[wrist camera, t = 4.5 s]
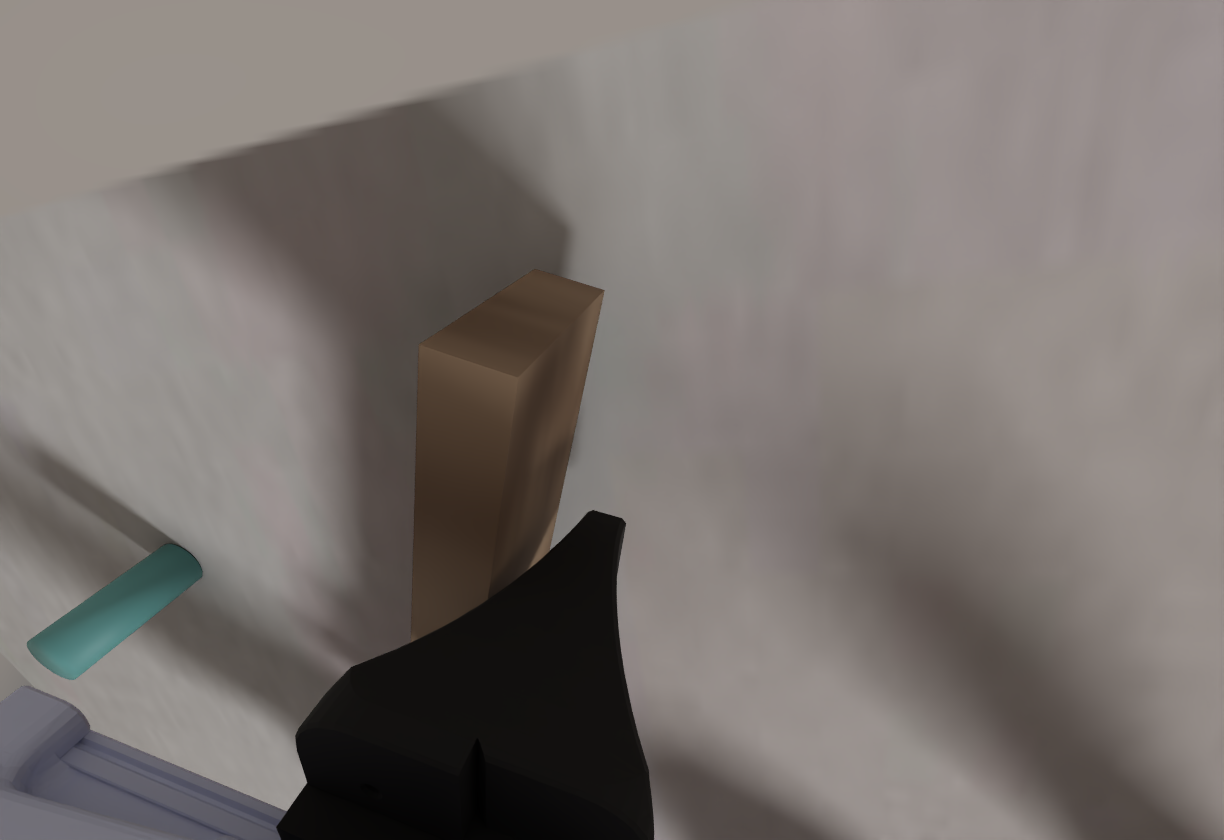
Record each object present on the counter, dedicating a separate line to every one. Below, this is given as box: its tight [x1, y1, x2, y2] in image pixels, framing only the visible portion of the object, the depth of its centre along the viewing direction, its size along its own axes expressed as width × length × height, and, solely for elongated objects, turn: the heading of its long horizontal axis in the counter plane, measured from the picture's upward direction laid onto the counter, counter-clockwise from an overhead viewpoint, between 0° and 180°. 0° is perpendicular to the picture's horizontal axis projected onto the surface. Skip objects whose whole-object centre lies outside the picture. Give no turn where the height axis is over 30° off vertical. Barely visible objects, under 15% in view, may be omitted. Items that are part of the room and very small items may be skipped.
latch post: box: [27, 544, 202, 680], centre depth 22 cm, size 2×2×5 cm
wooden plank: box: [411, 269, 605, 642], centre depth 15 cm, size 21×2×6 cm, turn 168°
